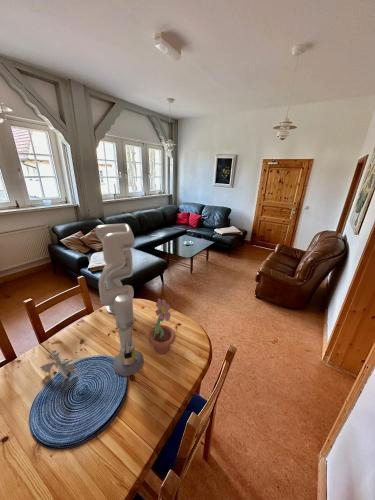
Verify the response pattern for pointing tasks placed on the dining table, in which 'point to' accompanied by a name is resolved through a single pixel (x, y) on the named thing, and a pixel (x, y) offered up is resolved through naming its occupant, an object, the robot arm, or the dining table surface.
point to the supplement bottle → (128, 360)
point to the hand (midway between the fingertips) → (127, 350)
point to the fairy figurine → (59, 365)
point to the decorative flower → (162, 330)
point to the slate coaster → (128, 369)
